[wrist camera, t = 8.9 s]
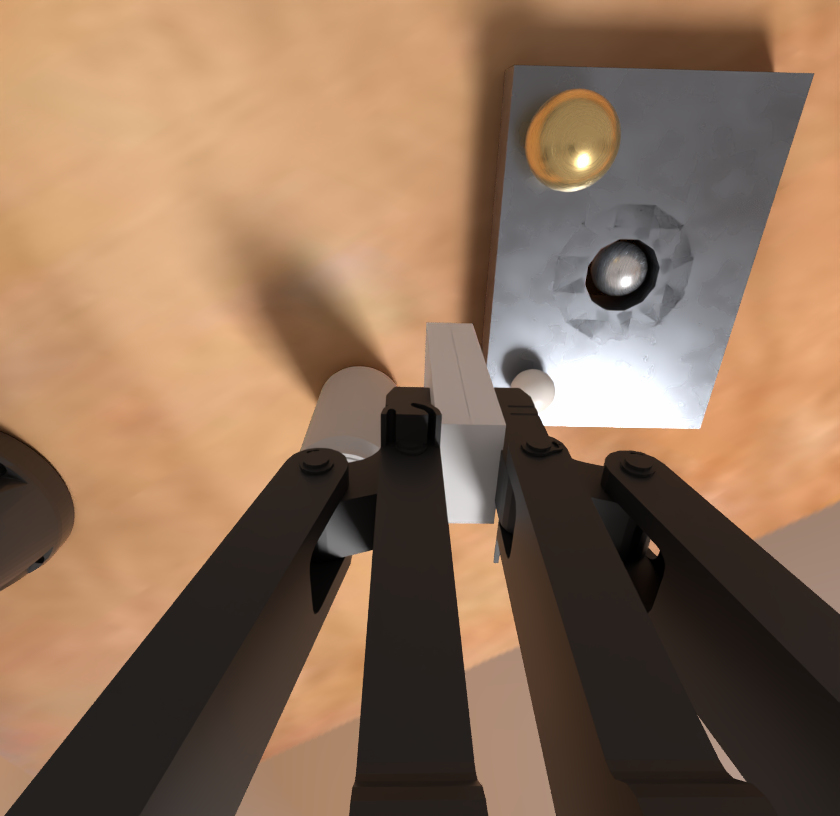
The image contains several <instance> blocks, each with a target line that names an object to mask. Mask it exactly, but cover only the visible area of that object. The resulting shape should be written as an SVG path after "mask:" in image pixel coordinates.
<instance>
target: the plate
mask: <svg viewBox="0 0 840 816" xmlns="http://www.w3.org/2000/svg"><path fill="white" fill-rule="evenodd" d="M813 76H814V73H779V72H744V71H708V70H672V69H637V68H601V67H566V66H530V65H514V66H512V67H510V68H509V69H507V70H505V77H504V89H503V100H502V112H501V124H500V136H499V148H498V159H497V171H496V183H495V195H494V206H493V218H492V230H491V242H490V254H489V265H488V277H487V289H486V301H485V313H484V324H483V336H482V348H481V351H482V354H483V357H484V360H485V363H486V366H487V369H488V372H489V375H490V378H491V381H492V384H493V387H498V388H510V387H511V383H512V381H513V380H514V378H515V377H516V376H517V375H518V374H519V373H521V372H523V371H525V370H529V369H537V370H541V371H543V372H545V373H546V374H548V375H549V376H550V377H551V379H552V380H553V382H554V385H555V391H556V393H555V398H554V401H553V402H552V404H551V405H550V406H549V408H547V409H546V410H545V411H543V412H540V413H538V416H540V418H541V420H542V423H543V425H544V426H591V427H641V428H692V429H700V427H701V424H702V421H703V418H704V414H705V411H706V408H707V405H708V402H709V399H710V396H711V393H712V390H713V387H714V383H715V380H716V377H717V374H718V371H719V368H720V365H721V362H722V359H723V355H724V352H725V349H726V346H727V343H728V340H729V337H730V334H731V331H732V328H733V324H734V321H735V318H736V315H737V312H738V309H739V306H740V303H741V300H742V296H743V293H744V290H745V287H746V284H747V281H748V278H749V275H750V272H751V268H752V265H753V262H754V259H755V256H756V253H757V250H758V247H759V244H760V241H761V237H762V234H763V231H764V228H765V225H766V222H767V219H768V216H769V213H770V209H771V206H772V203H773V200H774V197H775V194H776V191H777V188H778V185H779V181H780V178H781V175H782V172H783V169H784V166H785V163H786V160H787V157H788V154H789V150H790V147H791V144H792V141H793V138H794V135H795V132H796V129H797V126H798V122H799V119H800V116H801V113H802V110H803V107H804V104H805V101H806V98H807V95H808V91H809V88H810V85H811V82H812V79H813ZM579 88H580V89H588V90H592V91H595V92H597V93H599V94H600V95H602V96H604V97H605V98H606V99H607V100H608V101H609V102H610V103H611V104H612V106H613V107H614V109H615V111H616V112H617V115H618V118H619V121H620V127H621V140H620V146H619V150H618V153H617V156H616V158H615V160H614V162H613V164H612V166H611V167H610V169H609V170H608V171H607V172H606V174H605V175H604V176H603V177H602V178H601V179H599V180H598V181H597V182H596V183H594V184H592V185H591V186H589V187H587V188H584V189H581V190H578V191H573V192H561V191H556V190H553V189H550V188H548V187H546V186H545V185H543V184H542V183H541V182H540V181H538V179H537V178H536V177H535V176H534V175H533V173H532V172H531V170H530V168H529V166H528V163H527V160H526V154H525V139H526V134H527V130H528V127H529V124H530V122H531V120H532V118H533V116H534V115H535V113H536V112H537V110H538V109H539V108H540V107H541V106H542V105H543V104H544V103H545V102H546V101H547V100H548V99H550V98H551V97H553V96H554V95H556V94H558V93H560V92H563V91H566V90H570V89H579ZM619 239H634V240H635V243H636V246H638V247H639V248H640V249H641V250H642V251H643V253H644V254H645V256H646V259H647V264H648V269H647V274H646V277H645V279H644V281H643V282H642V284H641V285H640V286H639V287H638V288H637V289H636V290H635V291H633V292H631V293H629V294H627V295H623V296H610V295H590V294H588V291H587V289H586V286H585V281H586V275H587V270H588V265H589V264H590V263H591V261H592V260H593V259H594V257H595V256H596V255H597V253H598V252H599V251H600V249H601V248H603V247H605V246H607V245H609V244H611V243H613V242H615V241H617V240H619Z"/></svg>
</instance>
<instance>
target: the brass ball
mask: <svg viewBox="0 0 840 816" xmlns="http://www.w3.org/2000/svg"><path fill="white" fill-rule="evenodd" d="M620 140H621V127H620V121H619V118H618V115H617V112H616V111H615V109H614V107H613V106H612V104H611V103H610V102H609V101H608V100H607V99H606V98H605V97H604V96H602V95H600V94H599V93H597V92H595V91H592V90H588V89H580V88H579V89H570V90H566V91H563V92H560V93H558V94H556V95H554V96H553V97H551V98H550V99H548V100H547V101H546V102H545V103H544V104H543V105H542V106H541V107H540V108H539V109H538V110H537V112H536V113H535V115H534V116H533V118H532V120H531V122H530V124H529V127H528V130H527V134H526V139H525V154H526V160H527V163H528V166H529V168H530V170H531V172H532V173H533V175H534V176H535V177H536V178H537V179H538V181H540V182H541V183H542V184H543V185H545V186H546V187H548V188H550V189H553V190H556V191H561V192H573V191H578V190H581V189H584V188H587V187H589V186H591V185H592V184H594V183H596V182H597V181H598V180H599V179H601V178H602V177H603V176H604V175H605V174H606V172H607V171H608V170H609V169H610V167H611V166H612V164H613V162H614V160H615V158H616V156H617V153H618V150H619V146H620Z"/></svg>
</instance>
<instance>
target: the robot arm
mask: <svg viewBox="0 0 840 816" xmlns="http://www.w3.org/2000/svg"><path fill="white" fill-rule="evenodd" d="M495 509H497V513H498V517H499V522H498V530H497V537H496V545H495V553H494V563H498V561H499V556H500V555H501V560H502V565H503V569H504V574H505V579H506V583H507V588H508V593H509V598H510V602H511V607H512V612H513V616H514V621H515V626H516V630H517V635H518V640H519V644H520V649H521V653H522V658H523V663H524V668H525V672H526V677H527V682H528V686H529V691H530V696H531V700H532V705H533V710H534V714H535V719H536V724H537V729H538V733H539V738H540V743H541V747H542V752H543V757H544V761H545V766H546V770H547V775H548V780H549V785H550V789H551V794H552V799H553V803H554V808H555V813H556V816H840V614H839V613H838V612H836V611H835V610H834V609H833V608H832V607H831V606H829V605H828V604H827V603H826V602H825V601H823V600H822V599H821V598H820V597H819V596H818V595H817V594H815V593H814V592H813V591H812V590H811V589H810V588H808V587H807V586H806V585H805V584H804V583H802V582H801V581H800V580H799V579H798V578H797V577H796V576H794V575H793V574H792V573H791V572H790V571H788V570H787V569H786V568H785V567H784V566H783V565H781V564H780V563H779V562H778V561H777V560H776V559H774V558H773V557H772V556H771V555H770V554H769V553H767V552H766V551H765V550H764V549H763V548H762V547H760V546H759V545H758V544H757V543H756V542H755V541H753V540H752V539H751V538H750V537H749V536H748V535H746V534H745V533H744V532H743V531H742V530H741V529H739V528H738V527H737V526H736V525H735V524H734V523H732V522H731V521H730V520H729V519H728V518H727V517H725V516H724V515H723V514H722V513H721V512H720V511H718V510H717V509H716V508H715V507H714V506H713V505H711V504H710V503H709V502H708V501H707V500H706V499H704V498H703V497H702V496H701V495H700V494H699V493H697V492H696V491H695V490H694V489H693V488H692V487H690V486H689V485H688V484H687V483H686V482H685V481H683V480H682V479H681V478H680V477H679V476H678V475H676V474H675V473H674V472H673V471H672V470H670V469H669V468H668V467H667V466H666V465H665V464H663V463H662V462H660V461H659V460H657V459H656V458H654V457H652V456H649V455H646V454H645V453H642V452H638V451H637V452H636V451H617V452H613V453H610V454H609V455H608V456H607V457H606V459H605V463H604V466H600V465H595V464H590V463H585V462H581V461H577V460H574V459H572V458H571V456H570V454H569V452H568V449H567V448H566V447H565V446H564V444H563V443H562V442H560V441H558V440H556V439H555V438H553V437H550V436H548V434H547V431H546V429H545V427H544V425H543V423H542V420H541V418H540V416H538V412H537V409H536V408H535V405H534V403H533V401H532V398H531V396H529V395H528V394H527V393H525V392H524V391H523V390H522V389H520V388H498V387H493V384H492V381H491V378H490V375H489V372H488V369H487V366H486V363H485V360H484V357H483V354H482V351H481V348H480V345H479V342H478V338H477V335H476V332H475V329H474V326H473V323H429V322H426V348H425V373H424V387H394V388H393V389H392V390H391V391H390V392H389V393H388V394H387V395H386V404H385V408H383V410H382V412H381V448H380V449H379V450H378V452H376V453H375V454H373V455H372V456H370V457H367V458H365V459H362V460H358V461H353V462H348V461H347V459H346V457H345V455H343V454H342V453H340V452H339V451H336V450H333V449H329V448H312V449H311V448H310V449H306V450H303V451H300V452H298V453H295V454H294V455H292V456H291V457H290V458H289V459H288V460H287V461H286V462H285V463H284V464H283V466H282V467H281V468H280V469H279V471H278V472H277V473H276V474H275V476H274V477H273V478H272V480H271V481H270V482H269V483H268V485H267V486H266V487H265V488H264V490H263V491H262V492H261V493H260V495H259V496H258V497H257V498H256V500H255V501H254V502H253V503H252V505H251V506H250V507H249V508H248V510H247V511H246V512H245V514H244V515H243V516H242V517H241V519H240V520H239V521H238V522H237V524H236V525H235V526H234V527H233V529H232V530H231V531H230V532H229V534H228V535H227V536H226V537H225V539H224V540H223V541H222V542H221V544H220V545H219V546H218V547H217V549H216V550H215V551H214V553H213V554H212V555H211V556H210V558H209V559H208V560H207V561H206V563H205V564H204V565H203V566H202V568H201V569H200V570H199V571H198V573H197V574H196V575H195V576H194V578H193V579H192V580H191V581H190V583H189V584H188V585H187V586H186V588H185V589H184V590H183V592H182V593H181V594H180V595H179V597H178V598H177V599H176V600H175V602H174V603H173V604H172V605H171V607H170V608H169V609H168V610H167V612H166V613H165V614H164V615H163V617H162V618H161V619H160V620H159V622H158V623H157V624H156V625H155V627H154V628H153V629H152V631H151V632H150V633H149V634H148V636H147V637H146V638H145V639H144V641H143V642H142V643H141V644H140V646H139V647H138V648H137V649H136V651H135V652H134V653H133V654H132V656H131V657H130V658H129V659H128V661H127V662H126V663H125V665H124V666H123V667H122V668H121V670H120V671H119V672H118V673H117V675H116V676H115V677H114V678H113V680H112V681H111V682H110V683H109V685H108V686H107V687H106V688H105V690H104V691H103V692H102V693H101V695H100V696H99V697H98V698H97V700H96V701H95V702H94V704H93V705H92V706H91V707H90V709H89V710H88V711H87V712H86V714H85V715H84V716H83V717H82V719H81V720H80V721H79V722H78V724H77V725H76V726H75V727H74V729H73V730H72V731H71V732H70V734H69V735H68V736H67V737H66V739H65V740H64V741H63V743H62V744H61V745H60V746H59V748H58V749H57V750H56V751H55V753H54V754H53V755H52V756H51V758H50V759H49V760H48V761H47V763H46V764H45V765H44V766H43V768H42V769H41V770H40V771H39V773H38V774H37V775H36V776H35V778H34V779H33V780H32V782H31V783H30V784H29V785H28V787H27V788H26V789H25V790H24V792H23V793H22V794H21V795H20V797H19V798H18V799H17V800H16V802H15V803H14V804H13V805H12V807H11V808H10V809H9V810H8V812H7V813H6V814H5V816H235V814H236V812H237V810H238V807H239V805H240V803H241V801H242V799H243V797H244V794H245V792H246V790H247V788H248V786H249V784H250V781H251V779H252V777H253V775H254V773H255V771H256V768H257V766H258V764H259V762H260V760H261V757H262V755H263V753H264V751H265V749H266V747H267V744H268V742H269V740H270V738H271V736H272V733H273V731H274V729H275V727H276V725H277V723H278V720H279V718H280V716H281V714H282V712H283V710H284V707H285V705H286V703H287V701H288V699H289V696H290V694H291V692H292V690H293V688H294V686H295V683H296V681H297V679H298V677H299V675H300V673H301V670H302V668H303V666H304V664H305V662H306V659H307V657H308V655H309V653H310V651H311V649H312V646H313V644H314V642H315V640H316V638H317V636H318V633H319V631H320V629H321V627H322V625H323V622H324V620H325V618H326V616H327V614H328V612H329V609H330V607H331V605H332V603H333V601H334V599H335V596H336V594H337V592H338V590H339V588H340V585H341V583H342V581H343V579H344V577H345V575H346V572H347V570H348V568H349V566H350V563H351V558H352V555H354V554H358V553H362V552H366V551H370V550H373V556H372V569H371V582H370V596H369V609H368V622H367V636H366V649H365V662H364V676H363V689H362V702H361V716H360V729H359V743H358V756H357V768H356V777H355V783H354V785H353V788H352V795H351V803H350V813H349V816H488V812H487V805H486V798H485V795H484V791H483V787H482V785H481V784H480V783H479V781H478V780H477V776H476V771H475V763H474V754H473V745H472V738H471V737H472V736H471V727H470V718H469V709H468V700H467V690H466V681H465V672H464V662H463V653H462V644H461V635H460V626H459V617H458V607H457V598H456V589H455V580H454V571H453V561H452V552H451V543H450V534H449V525H448V523H489V524H494V517H495ZM73 524H74V506H73V502H72V499H71V496H70V494H69V491H68V489H67V487H66V486H65V484H64V482H63V481H62V479H61V478H60V476H59V475H58V474H57V472H56V471H55V470H54V469H53V468H52V467H51V466H50V465H49V464H48V463H47V462H46V461H45V460H44V459H43V458H42V457H41V456H40V455H38V454H37V453H36V452H35V451H33V450H32V449H31V448H29V447H28V446H26V445H25V444H23V443H22V442H20V441H18V440H16V439H15V438H13V437H11V436H9V435H7V434H5V433H2V432H0V591H2V590H3V589H5V588H6V587H8V586H10V585H11V584H13V583H15V582H16V581H18V580H19V579H21V578H22V577H24V576H25V575H26V574H28V573H30V572H32V571H34V570H36V569H37V568H39V567H41V566H42V565H43V564H45V563H46V562H47V561H48V560H49V559H50V558H51V557H52V556H53V555H54V554H55V553H56V552H57V550H58V549H59V548H60V547H61V546H62V545H63V543H64V542H65V541H66V540H67V538H68V537H69V535H70V533H71V531H72V528H73ZM650 540H652V541H653V542H654V543H655V544H656V545H657V547H658V548H659V550H660V552H659V555H658V556H656V555H655V554H654V553H653V552H652V551H651V550H650V549H649V548H648V546H649V543H650ZM698 716H699V718H700V719H701V720H702V721H703V723H704V724H705V726H706V727H707V728H708V730H709V731H710V733H711V734H712V735H713V737H714V738H715V739H716V741H717V742H718V743H719V745H720V746H721V747H722V749H723V750H724V752H725V753H726V754H727V756H728V757H729V758H730V760H731V761H732V762H733V764H734V765H735V767H736V768H737V769H738V771H739V772H740V773H741V775H742V776H743V778H744V779H745V780H746V782H744V781H740V780H737V779H734V778H733V777H732V776H730V775H729V773H727V772H726V770H725V769H724V767H723V765H722V764H721V762H720V760H719V759H718V757H717V754H716V752H715V750H714V748H713V746H712V744H711V742H710V740H709V738H708V736H707V734H706V732H705V730H704V728H703V726H702V724H701V722H700V720H699V718H698Z"/></svg>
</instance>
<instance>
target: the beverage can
mask: <svg viewBox="0 0 840 816" xmlns="http://www.w3.org/2000/svg"><path fill="white" fill-rule="evenodd" d="M394 387H397V386H396V384H395V383H394V382H393V381H392V380H391V379H390V378H389V377H388V376H387V375H385V374H384V373H382V372H381V371H379V370H376V369H374V368H370V367H364V366H354V367H348V368H345V369H342V370H340V371H338V372H337V373H335V374H333V375H332V376H331V377H330V378H329V379H328V380H327V381H326V383H325V384H324V386H323V388H322V390H321V393H320V396H319V398H318V401H317V404H316V407H315V410H314V413H313V415H312V418H311V421H310V424H309V427H308V430H307V432H306V435H305V438H304V441H303V444H302V447H301V449H300V451H303V450H306V449H310V448H311V449H312V448H329V449H333V450H336V451H339V452H340V453H342V454H343V455H345V457H346V459H347V461H348V462H353V461H358V460H362V459H365V458H367V457H370V456H372V455H373V454H375V453H376V452H378V450H379V449H380V448H381V412H382V410H383V408H385V404H386V395H387V394H388V393H389V392H390V391H391V390H392V389H393V388H394Z"/></svg>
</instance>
